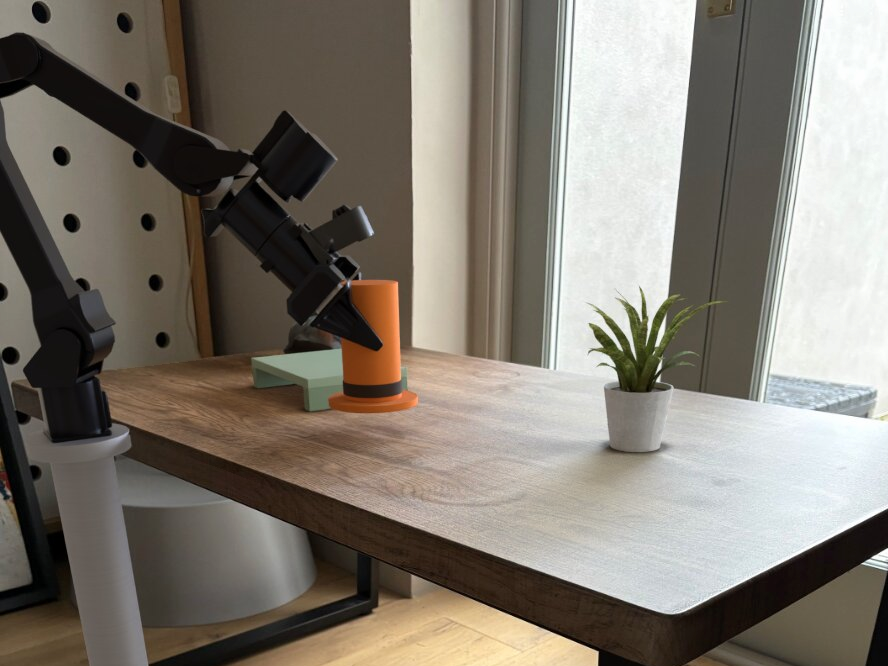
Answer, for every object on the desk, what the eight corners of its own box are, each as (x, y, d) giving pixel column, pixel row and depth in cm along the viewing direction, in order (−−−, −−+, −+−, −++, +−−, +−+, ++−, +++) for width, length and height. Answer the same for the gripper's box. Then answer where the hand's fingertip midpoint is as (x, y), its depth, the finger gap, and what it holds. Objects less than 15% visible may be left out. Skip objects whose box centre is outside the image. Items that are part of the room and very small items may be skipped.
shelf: (309, 411, 116) (307, 379, 114) (253, 386, 131) (250, 357, 130) (408, 398, 122) (407, 367, 121) (343, 376, 138) (341, 348, 136)
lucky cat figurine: (278, 356, 154) (303, 276, 154) (346, 382, 158) (371, 304, 158) (289, 342, 140) (316, 253, 140) (363, 370, 143) (390, 284, 143)
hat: (352, 417, 98) (345, 288, 93) (314, 401, 106) (306, 281, 101) (434, 406, 103) (431, 282, 98) (392, 391, 111) (387, 276, 105)
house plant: (704, 429, 104) (718, 275, 97) (727, 462, 91) (745, 288, 85) (575, 429, 105) (581, 276, 98) (581, 461, 92) (588, 289, 86)
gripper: (310, 175, 86) (431, 297, 91) (335, 177, 104) (436, 280, 108) (235, 265, 90) (355, 379, 94) (271, 253, 107) (371, 350, 111)
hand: (383, 343), depth 102 cm, fingers closed on hat, 6 cm apart
